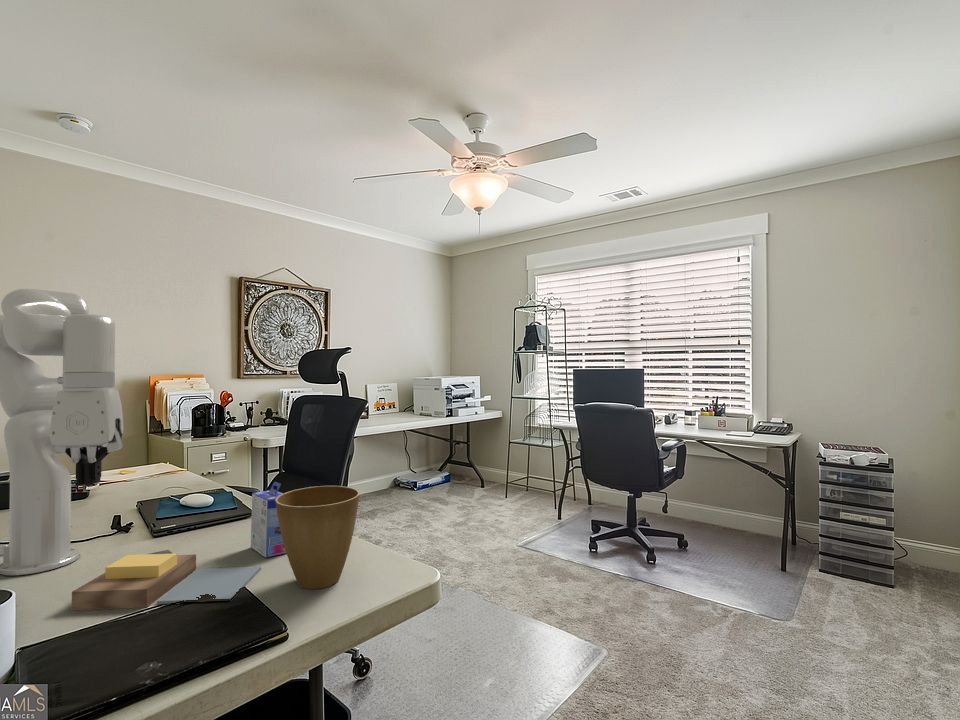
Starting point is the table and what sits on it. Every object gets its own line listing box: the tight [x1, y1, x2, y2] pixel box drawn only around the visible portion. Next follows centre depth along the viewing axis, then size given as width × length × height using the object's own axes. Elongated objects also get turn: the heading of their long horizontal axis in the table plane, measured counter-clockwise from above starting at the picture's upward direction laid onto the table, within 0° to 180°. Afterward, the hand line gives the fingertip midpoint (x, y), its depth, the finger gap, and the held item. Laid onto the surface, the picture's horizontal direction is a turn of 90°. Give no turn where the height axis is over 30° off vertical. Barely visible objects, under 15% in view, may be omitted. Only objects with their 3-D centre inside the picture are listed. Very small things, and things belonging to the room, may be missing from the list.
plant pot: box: [275, 485, 361, 590], centre depth 93 cm, size 15×15×16 cm
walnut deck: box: [71, 553, 197, 611], centre depth 91 cm, size 12×16×3 cm
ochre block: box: [104, 553, 178, 579], centre depth 91 cm, size 9×6×2 cm, turn 93°
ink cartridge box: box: [250, 481, 287, 558], centre depth 110 cm, size 10×6×14 cm, turn 43°
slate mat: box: [156, 566, 262, 605], centre depth 91 cm, size 12×14×1 cm
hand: (88, 483), depth 91 cm, fingers closed
